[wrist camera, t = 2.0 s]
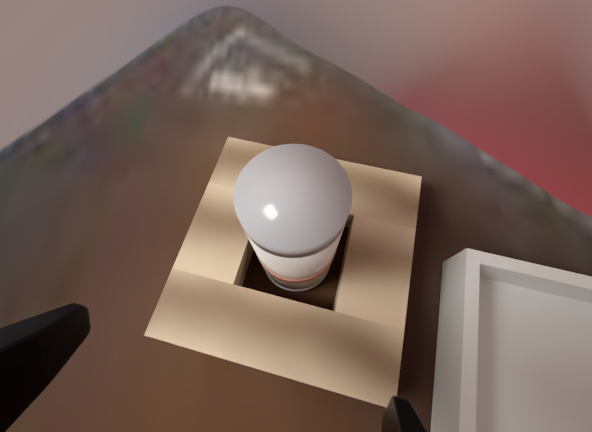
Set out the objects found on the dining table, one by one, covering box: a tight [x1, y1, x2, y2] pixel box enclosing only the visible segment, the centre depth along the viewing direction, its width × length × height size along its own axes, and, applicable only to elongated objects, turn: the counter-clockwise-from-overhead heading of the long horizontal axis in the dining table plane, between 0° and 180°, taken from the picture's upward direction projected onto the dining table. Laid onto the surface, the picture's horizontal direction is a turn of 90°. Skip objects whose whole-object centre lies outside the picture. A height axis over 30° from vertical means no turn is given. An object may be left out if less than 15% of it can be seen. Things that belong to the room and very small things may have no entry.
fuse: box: [233, 144, 352, 293], centre depth 17 cm, size 5×5×10 cm
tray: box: [430, 248, 592, 432], centre depth 17 cm, size 14×14×4 cm
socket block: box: [144, 137, 422, 407], centre depth 21 cm, size 15×15×2 cm
